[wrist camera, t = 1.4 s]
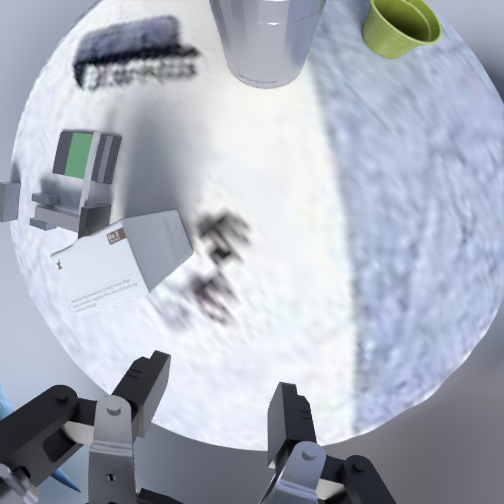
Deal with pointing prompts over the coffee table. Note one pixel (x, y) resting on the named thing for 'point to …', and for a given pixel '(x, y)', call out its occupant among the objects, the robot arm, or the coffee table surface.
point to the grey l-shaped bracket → (88, 216)
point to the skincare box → (121, 261)
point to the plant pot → (400, 26)
